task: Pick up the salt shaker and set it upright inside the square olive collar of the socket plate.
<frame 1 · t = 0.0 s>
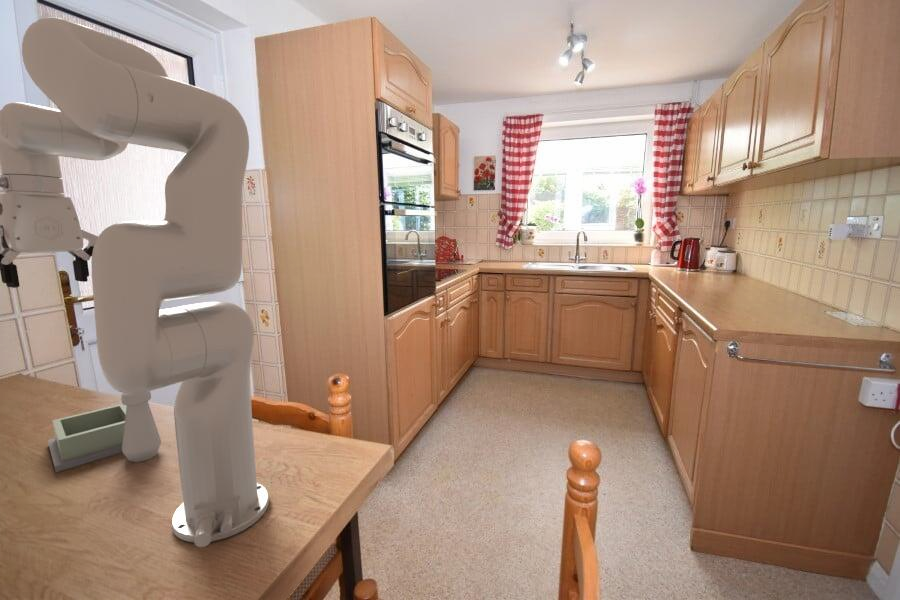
hand: (49, 283, 76), 31 cm above the table, tool pointing down, fingers open, 9 cm apart
salt shaker: (143, 457, 77), on the table
socket plate: (98, 445, 80), on the table
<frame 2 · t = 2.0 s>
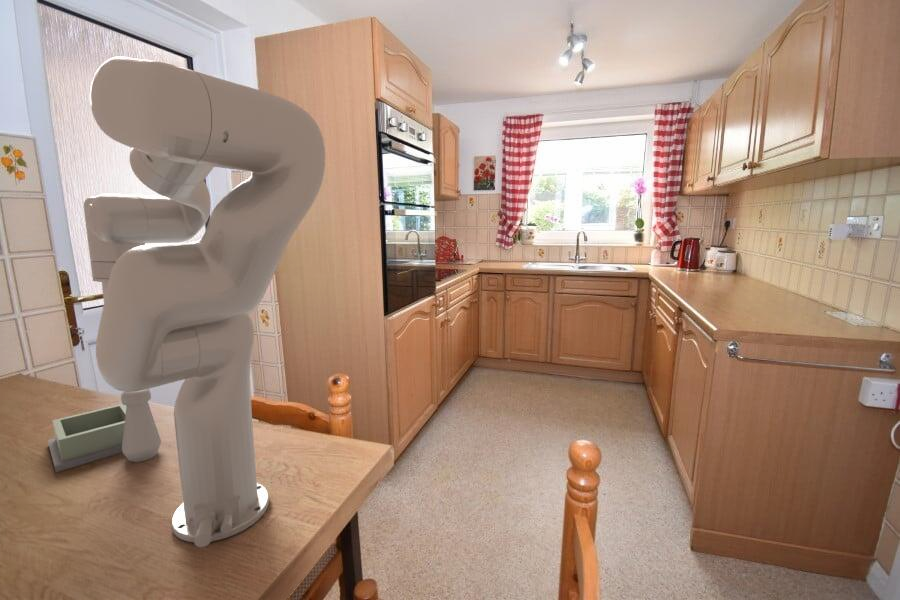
hand: (131, 366, 74), 17 cm above the table, tool pointing down, fingers open, 9 cm apart
nothing on the table moved.
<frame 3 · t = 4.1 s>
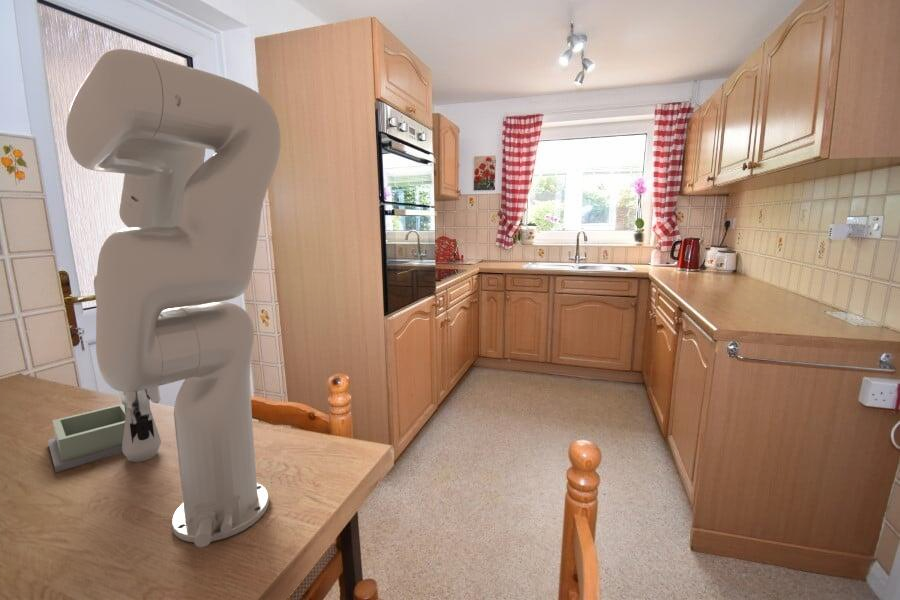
hand: (140, 437, 76), 4 cm above the table, tool pointing down, fingers closed on salt shaker, 3 cm apart
salt shaker: (143, 457, 77), on the table, touching gripper
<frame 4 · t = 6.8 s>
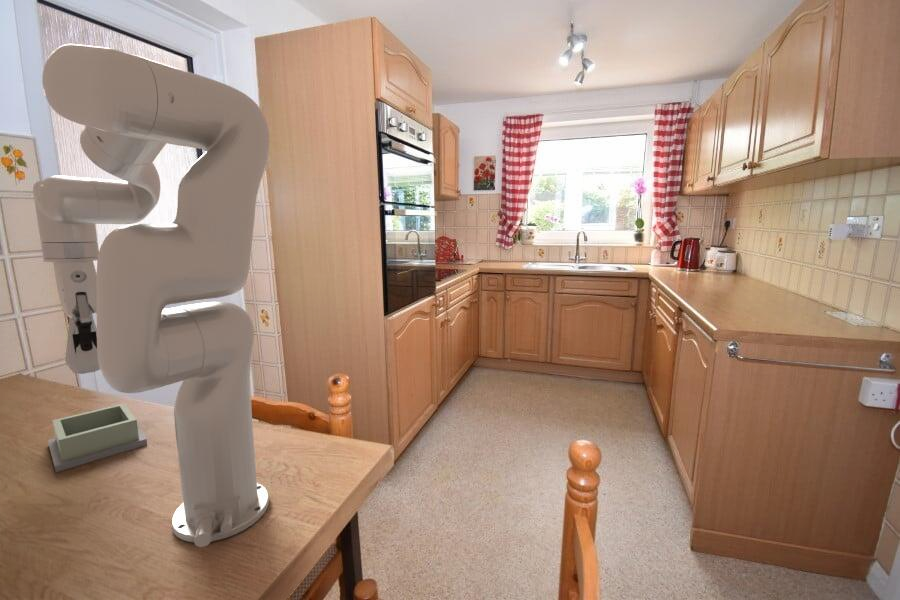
hand: (85, 351, 77), 19 cm above the table, tool pointing down, fingers closed on salt shaker, 3 cm apart
salt shaker: (88, 371, 78), point 15 cm above the table, touching gripper
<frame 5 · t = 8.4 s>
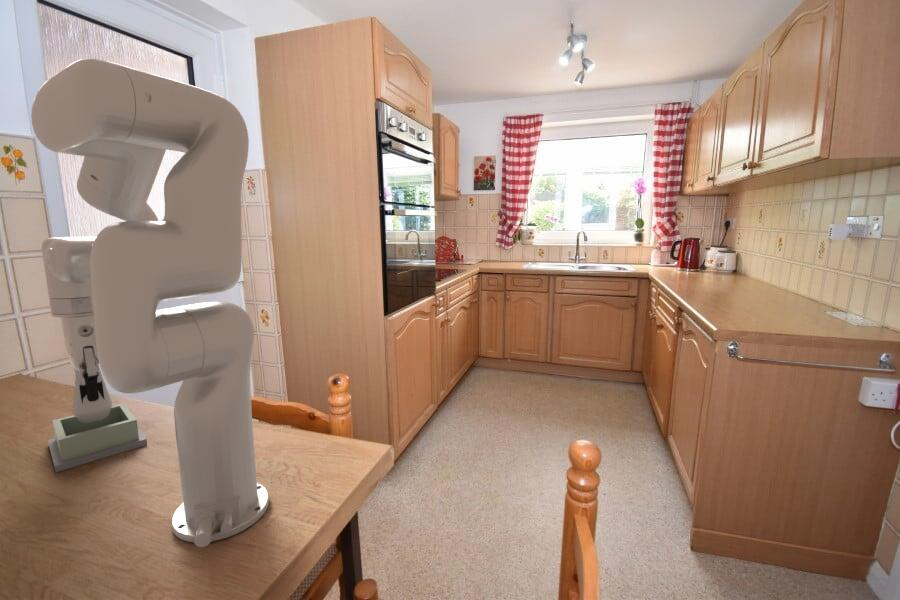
hand: (91, 399, 79), 9 cm above the table, tool pointing down, fingers closed on salt shaker, 3 cm apart
salt shaker: (94, 419, 80), point 5 cm above the table, touching gripper
when the fingers open (6 cm above the table, at t = 9.7 s): salt shaker drops 1 cm, resting on socket plate.
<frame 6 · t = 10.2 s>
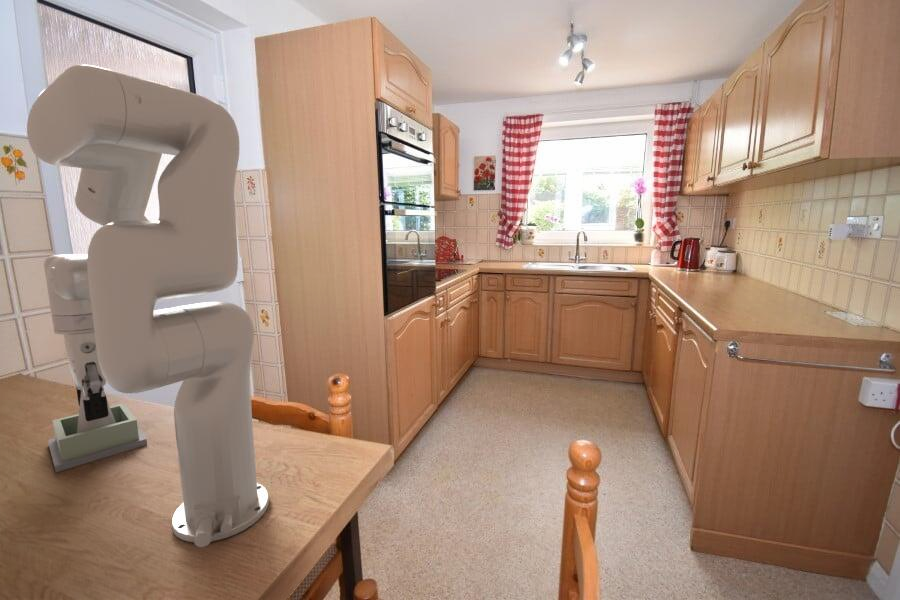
hand: (93, 410, 79), 7 cm above the table, tool pointing down, fingers open, 8 cm apart
salt shaker: (98, 440, 80), point 1 cm above the table, touching socket plate
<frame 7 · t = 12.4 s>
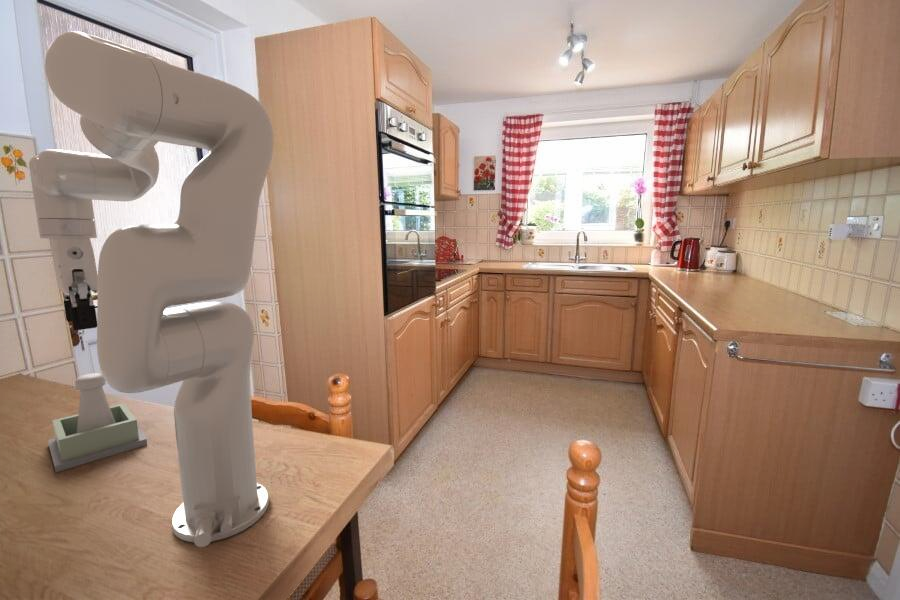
hand: (81, 324, 76), 24 cm above the table, tool pointing down, fingers open, 9 cm apart
nothing on the table moved.
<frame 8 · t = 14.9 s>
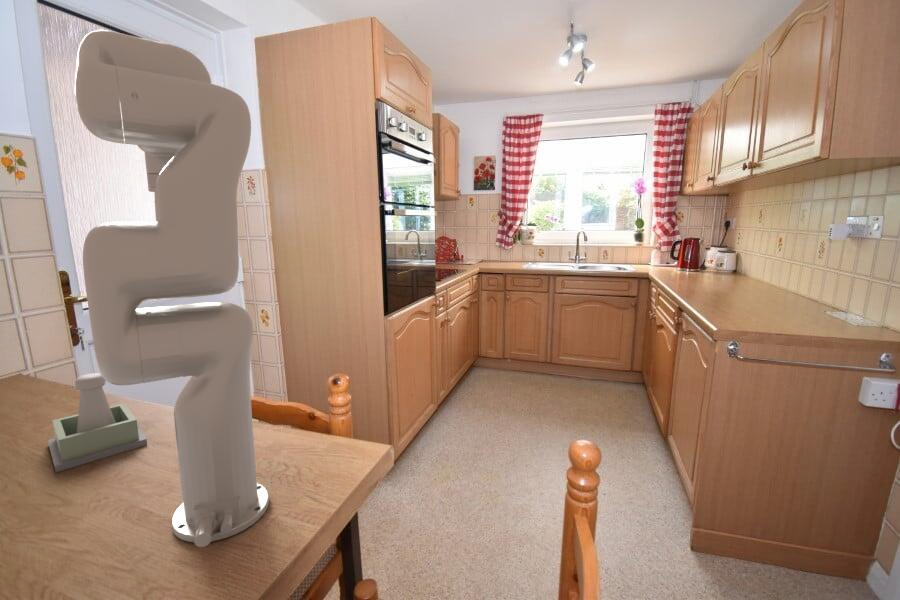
hand: (177, 266, 90), 33 cm above the table, tool pointing down, fingers open, 9 cm apart
nothing on the table moved.
at the end: salt shaker 0.3 cm off-centre on the socket plate, point 1.0 cm above the socket plate's base; salt shaker tilted 0°; the gripper is holding nothing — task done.
